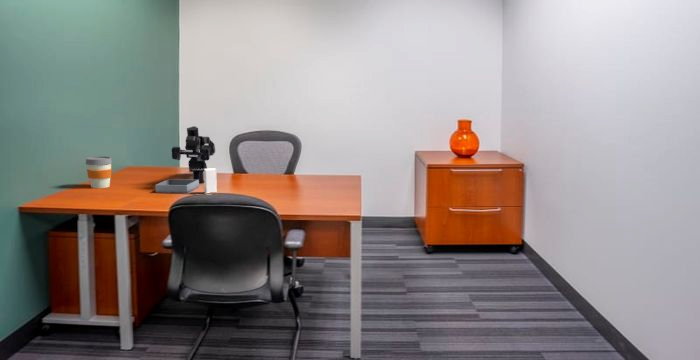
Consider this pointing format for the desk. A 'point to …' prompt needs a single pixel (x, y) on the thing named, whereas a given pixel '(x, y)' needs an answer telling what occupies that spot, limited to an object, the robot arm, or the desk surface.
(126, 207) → the desk surface
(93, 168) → the reusable coffee cup
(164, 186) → the tray
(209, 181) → the cream block
